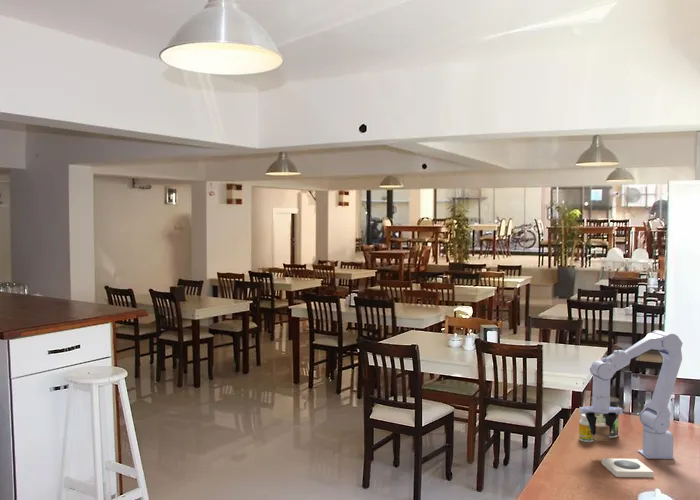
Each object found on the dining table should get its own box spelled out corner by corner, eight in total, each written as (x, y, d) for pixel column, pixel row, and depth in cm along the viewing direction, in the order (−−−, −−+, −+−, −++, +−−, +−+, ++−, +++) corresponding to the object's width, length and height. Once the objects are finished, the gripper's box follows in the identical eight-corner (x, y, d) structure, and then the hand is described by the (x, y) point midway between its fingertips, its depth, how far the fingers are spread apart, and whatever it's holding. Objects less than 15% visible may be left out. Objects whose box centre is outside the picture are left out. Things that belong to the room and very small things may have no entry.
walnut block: (604, 436, 231) (604, 422, 230) (609, 440, 226) (609, 426, 226) (591, 436, 231) (591, 422, 230) (596, 440, 226) (596, 426, 226)
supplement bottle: (584, 437, 250) (585, 412, 250) (596, 441, 246) (597, 415, 245) (575, 439, 247) (576, 414, 247) (587, 443, 243) (588, 417, 243)
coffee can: (620, 433, 256) (621, 397, 256) (615, 439, 247) (616, 403, 247) (593, 428, 262) (594, 393, 261) (587, 435, 253) (588, 399, 253)
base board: (636, 464, 222) (636, 458, 222) (653, 477, 210) (653, 471, 210) (601, 463, 221) (601, 457, 221) (616, 476, 209) (616, 470, 209)
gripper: (584, 398, 224) (583, 437, 224) (626, 398, 224) (625, 437, 224) (577, 393, 231) (576, 431, 231) (618, 393, 231) (617, 431, 231)
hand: (600, 434), depth 228 cm, fingers closed on walnut block, 4 cm apart
